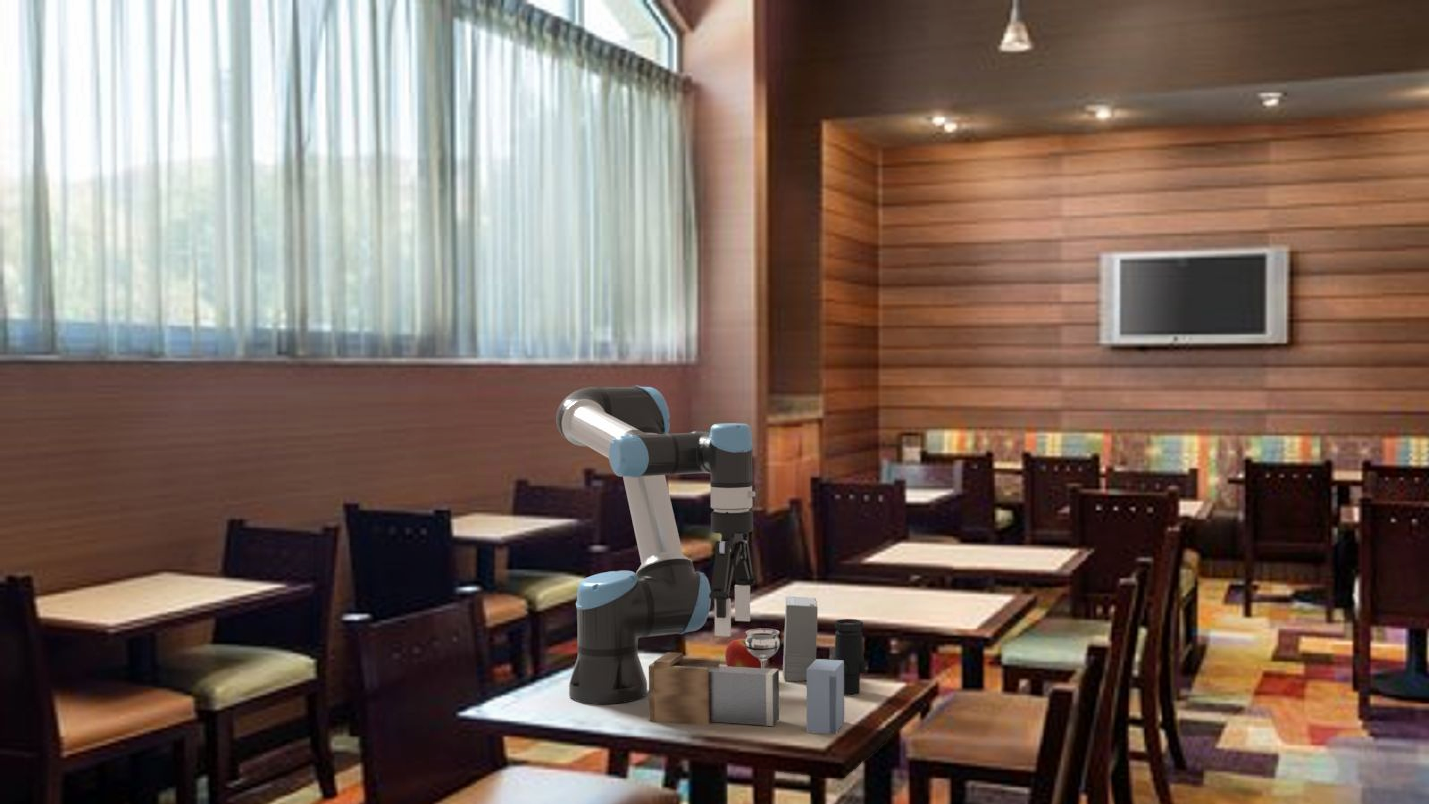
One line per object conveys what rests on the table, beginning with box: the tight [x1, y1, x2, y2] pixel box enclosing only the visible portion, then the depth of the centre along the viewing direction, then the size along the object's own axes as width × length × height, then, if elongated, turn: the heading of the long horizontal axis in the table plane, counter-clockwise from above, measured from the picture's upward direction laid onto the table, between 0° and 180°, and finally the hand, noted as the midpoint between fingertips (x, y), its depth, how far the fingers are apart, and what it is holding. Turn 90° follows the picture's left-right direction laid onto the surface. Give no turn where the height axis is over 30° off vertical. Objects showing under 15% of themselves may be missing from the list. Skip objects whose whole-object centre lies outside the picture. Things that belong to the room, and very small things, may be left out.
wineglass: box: [745, 628, 781, 669], centre depth 256 cm, size 7×7×12 cm
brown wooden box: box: [648, 651, 721, 726], centre depth 239 cm, size 11×8×11 cm
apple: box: [724, 635, 761, 668], centre depth 266 cm, size 8×8×10 cm
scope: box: [825, 618, 870, 696], centre depth 256 cm, size 8×14×10 cm
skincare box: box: [782, 596, 819, 682], centre depth 269 cm, size 8×7×16 cm
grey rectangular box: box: [672, 663, 780, 727], centre depth 238 cm, size 21×5×9 cm, turn 74°
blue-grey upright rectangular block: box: [806, 658, 845, 735], centre depth 232 cm, size 5×8×11 cm, turn 164°
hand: (733, 628), depth 237 cm, fingers open, 13 cm apart
